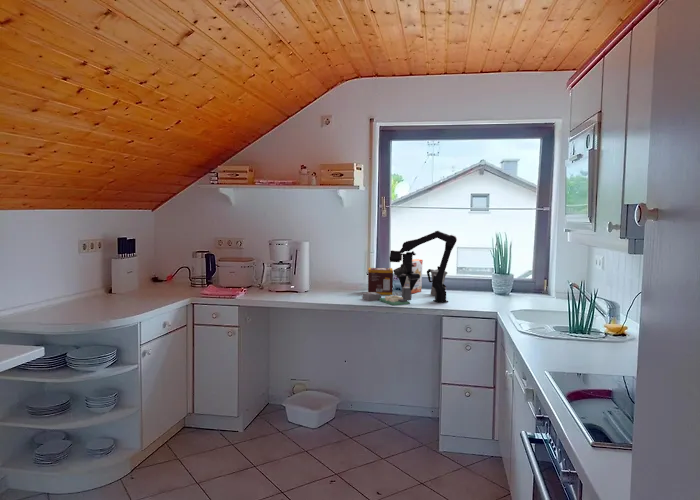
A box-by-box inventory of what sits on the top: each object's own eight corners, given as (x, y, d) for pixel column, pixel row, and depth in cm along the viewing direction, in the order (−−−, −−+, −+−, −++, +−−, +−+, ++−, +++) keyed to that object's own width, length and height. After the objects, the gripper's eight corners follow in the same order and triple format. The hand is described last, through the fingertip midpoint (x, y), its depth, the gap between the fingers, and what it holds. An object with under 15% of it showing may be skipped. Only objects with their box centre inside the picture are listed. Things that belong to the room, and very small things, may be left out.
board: (409, 304, 284) (409, 298, 283) (393, 305, 279) (393, 299, 279) (394, 299, 298) (394, 293, 298) (378, 300, 293) (378, 294, 293)
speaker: (380, 300, 294) (381, 293, 293) (368, 301, 290) (368, 294, 290) (374, 297, 301) (374, 291, 301) (362, 298, 297) (362, 292, 297)
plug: (411, 300, 296) (411, 287, 295) (404, 300, 294) (404, 288, 293) (407, 298, 300) (407, 286, 299) (400, 299, 298) (401, 286, 297)
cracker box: (411, 294, 314) (411, 261, 312) (402, 293, 318) (403, 260, 316) (422, 291, 325) (423, 259, 323) (413, 290, 329) (414, 258, 327)
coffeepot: (451, 295, 312) (452, 266, 310) (441, 297, 305) (442, 268, 303) (430, 292, 323) (431, 264, 321) (421, 294, 316) (422, 265, 315)
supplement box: (367, 291, 322) (368, 267, 320) (392, 292, 321) (392, 267, 320) (367, 294, 312) (368, 269, 310) (392, 295, 311) (393, 270, 310)
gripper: (387, 261, 300) (386, 287, 301) (404, 265, 283) (403, 292, 284) (403, 260, 305) (402, 286, 306) (420, 264, 288) (420, 291, 289)
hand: (406, 289), depth 296 cm, fingers open, 9 cm apart
